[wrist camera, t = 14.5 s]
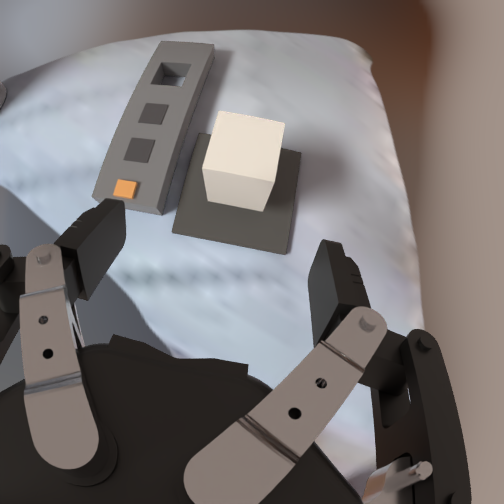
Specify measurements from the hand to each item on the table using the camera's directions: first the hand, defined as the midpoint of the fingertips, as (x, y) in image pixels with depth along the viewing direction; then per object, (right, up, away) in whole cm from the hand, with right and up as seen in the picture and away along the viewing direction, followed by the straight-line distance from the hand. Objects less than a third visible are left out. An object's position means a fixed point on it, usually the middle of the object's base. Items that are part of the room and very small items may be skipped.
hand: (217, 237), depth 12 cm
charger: (0, +6, +17) cm, 18 cm away
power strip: (-9, +14, +19) cm, 25 cm away
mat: (0, +6, +18) cm, 19 cm away
